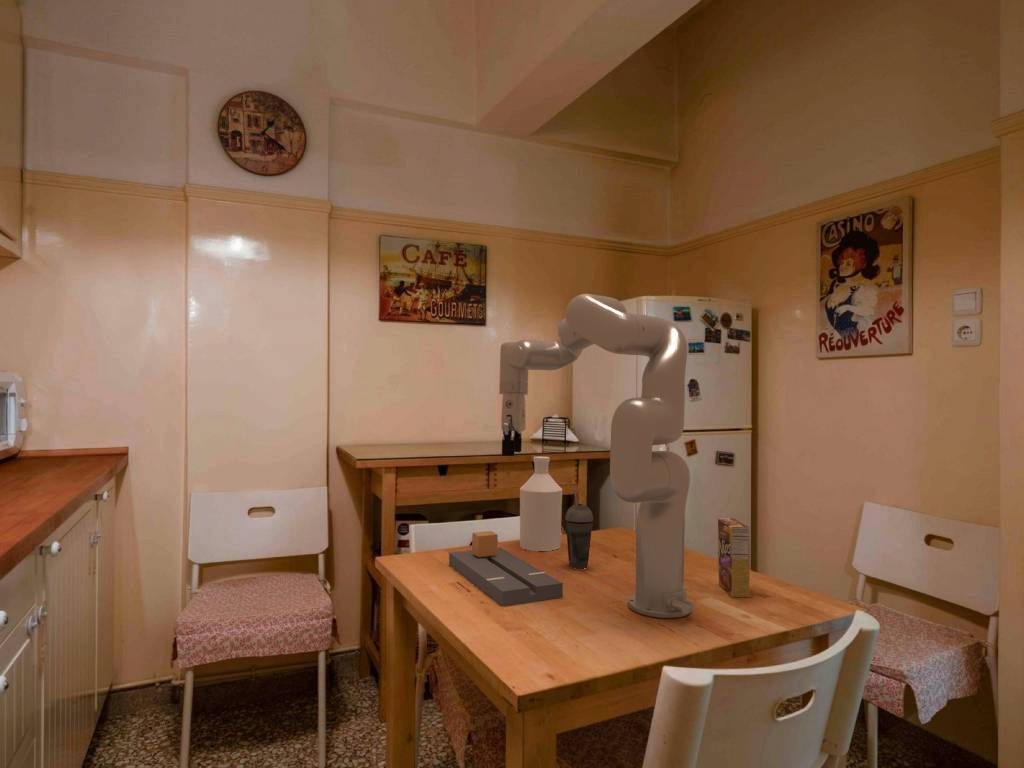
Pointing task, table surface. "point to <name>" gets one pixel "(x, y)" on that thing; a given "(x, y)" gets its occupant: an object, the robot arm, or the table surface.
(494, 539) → the slider tab
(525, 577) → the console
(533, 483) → the bottle
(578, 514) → the beverage cup
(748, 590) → the candy box
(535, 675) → the table surface
